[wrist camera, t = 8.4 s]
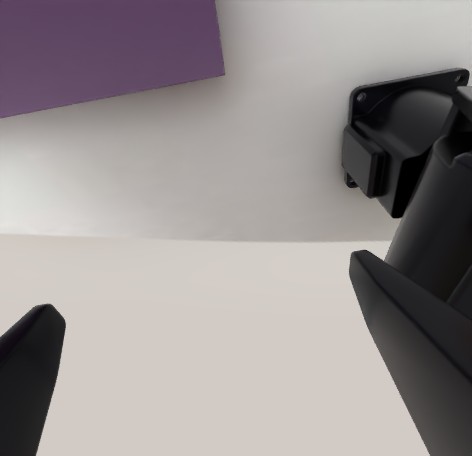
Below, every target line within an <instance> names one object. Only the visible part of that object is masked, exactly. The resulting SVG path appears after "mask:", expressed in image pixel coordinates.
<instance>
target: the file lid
mask: <svg viewBox="0 0 472 456" xmlns="http://www.w3.org/2000/svg"><path fill="white" fill-rule="evenodd" d="M222 75H225V69H224V62H223V55H222V48H221V41H220V34H219V27H218V19H217V12H216V5H215V0H0V118H4V117H9V116H15V115H20V114H25V113H30V112H35V111H41V110H46V109H51V108H56V107H61V106H67V105H72V104H77V103H82V102H87V101H92V100H98V99H103V98H108V97H113V96H118V95H124V94H129V93H134V92H139V91H144V90H150V89H155V88H160V87H165V86H170V85H176V84H181V83H186V82H191V81H196V80H202V79H207V78H212V77H217V76H222Z"/></svg>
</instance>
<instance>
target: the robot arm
mask: <svg viewBox="0 0 472 456" xmlns="http://www.w3.org/2000/svg"><path fill="white" fill-rule="evenodd" d="M459 75H460V78H459V80H457V81H456V82H455V80H456V78H457V77H458V76H459ZM468 80H469V71H468V70H466V69H463V68H455V69H449V70H444V71H439V72H433V73H428V74H423V75H417V76H412V77H407V78H402V79H396V80H391V81H386V82H380V83H375V84H370V85H364V86H359V87H357V88H355V89H354V90H353V92H352V93H351V97H350V109H349V123H348V125H347V126H346V128H345V129H344V140H343V156H342V166H343V167H344V168H345V179H344V180H345V183H346V185H347V186H348V187H350V188H356V187H360V189H361V190H362V191H363V193H364V194H365V195H366V196H367V197H368V198H370V199H372V198H376V199H377V200H378V201H379V202H380V203H381V205H382V206H383V207H384V208H385V210H386V211H387V212H388V213H389V214H390V216H391V217H392V218H402V219H401V222H400V224H399V226H398V229H397V231H396V234H395V236H394V238H393V241H392V243H391V245H390V247H389V250H388V253H387V255H386V257H385V260H384V261H383V260H381V259H380V258H378V257H377V256H375V255H374V254H372V253H371V252H369V251H367V250H360V251H354V252H352V253H351V257H350V267H349V275H350V279H351V282H352V285H353V288H354V291H355V293H356V296H357V299H358V302H359V305H360V308H361V310H362V313H363V316H364V319H365V322H366V324H367V327H368V329H369V331H370V333H371V335H372V337H373V340H374V342H375V344H376V346H377V348H378V350H379V352H380V354H381V356H382V358H383V360H384V362H385V364H386V366H387V368H388V370H389V372H390V374H391V376H392V378H393V380H394V382H395V385H396V387H397V389H398V391H399V393H400V395H401V397H402V399H403V401H404V403H405V405H406V407H407V409H408V411H409V413H410V415H411V417H412V419H413V421H414V423H415V425H416V427H417V429H418V432H419V433H420V436H421V438H422V440H423V442H424V444H425V446H426V448H427V450H428V452H429V454H430V456H472V86H467V83H468ZM360 93H363V97H362V98H361V99H360V100H357V97H358V95H359V94H360ZM352 179H353V180H354V181H353V182H350V181H351V180H352ZM65 328H66V323H65V320H64V318H63V317H62V316H61V314H60V313H59V312H58V311H57V310H56V309H55V307H54V306H53V305H51V304H42V305H37V306H35V307H33V308H32V309H31V310H30V311H29V312H28V313H27V314H25V315H24V316H23V317H22V318H21V319H20V320H19V321H18V322H17V323H15V324H14V325H13V326H12V327H11V328H10V329H9V330H8V331H7V332H6V333H5V334H3V335H2V336H1V337H0V456H36V453H37V450H38V446H39V442H40V439H41V435H42V431H43V428H44V424H45V420H46V416H47V413H48V409H49V406H50V402H51V398H52V394H53V391H54V387H55V383H56V380H57V375H58V370H59V364H60V359H61V353H62V346H63V340H64V334H65Z"/></svg>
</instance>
